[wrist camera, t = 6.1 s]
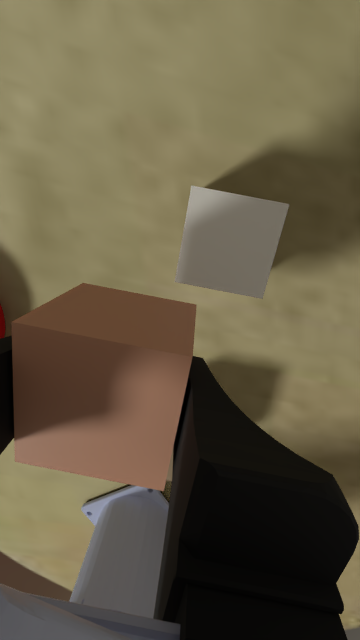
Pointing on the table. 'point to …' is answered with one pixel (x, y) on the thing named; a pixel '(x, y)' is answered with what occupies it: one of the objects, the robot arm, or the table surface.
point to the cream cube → (229, 241)
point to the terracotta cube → (101, 383)
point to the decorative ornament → (2, 323)
